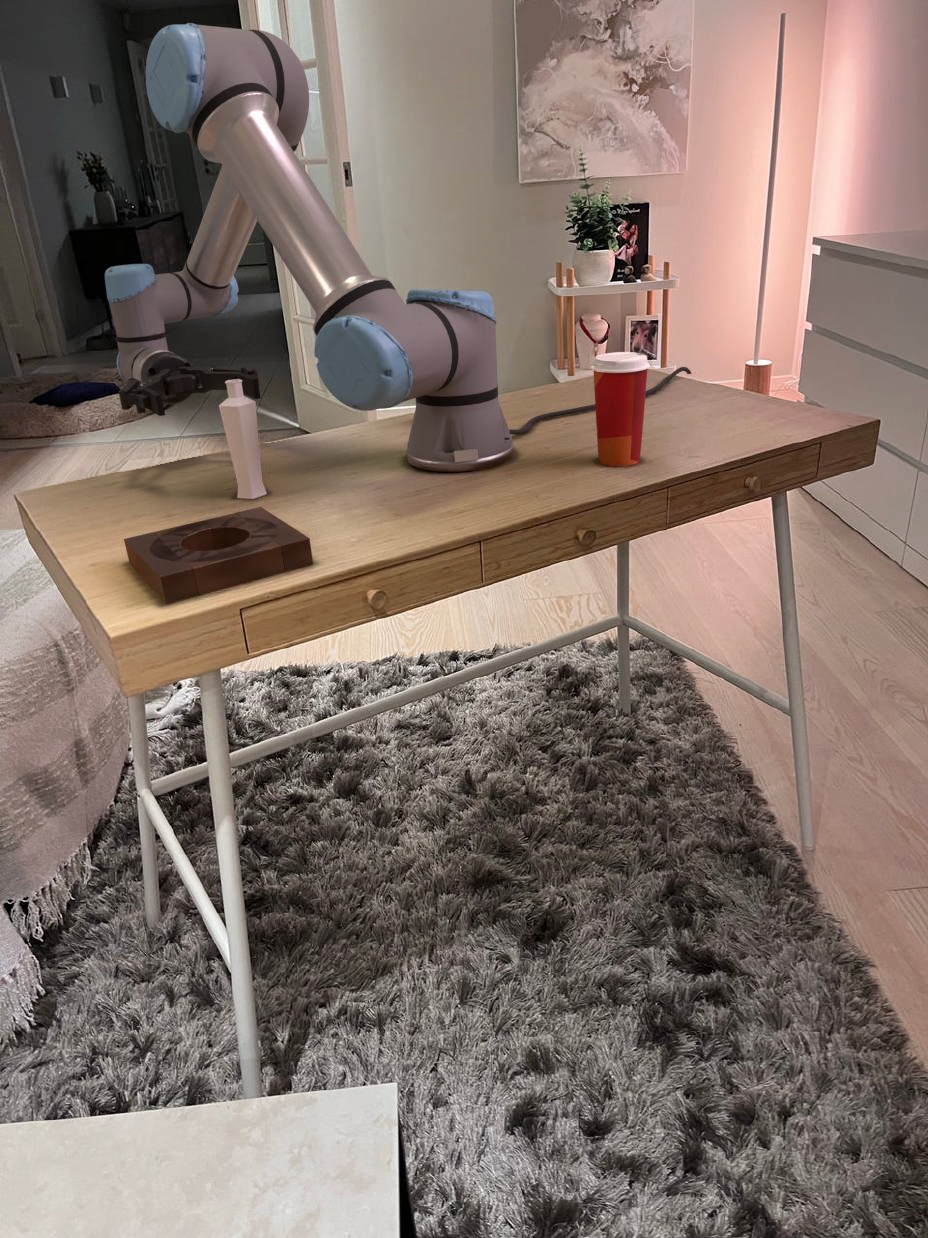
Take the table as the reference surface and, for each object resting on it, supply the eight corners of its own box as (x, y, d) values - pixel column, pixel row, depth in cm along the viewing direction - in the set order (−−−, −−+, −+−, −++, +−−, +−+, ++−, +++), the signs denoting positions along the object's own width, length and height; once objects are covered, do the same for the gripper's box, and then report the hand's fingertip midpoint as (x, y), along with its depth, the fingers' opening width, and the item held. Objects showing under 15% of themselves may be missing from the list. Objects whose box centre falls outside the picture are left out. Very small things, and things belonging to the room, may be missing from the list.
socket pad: (264, 530, 112) (260, 506, 110) (313, 564, 101) (309, 538, 99) (129, 564, 104) (123, 538, 103) (166, 604, 93) (160, 576, 92)
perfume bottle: (254, 487, 128) (236, 375, 121) (275, 492, 125) (257, 378, 119) (226, 496, 125) (207, 382, 118) (247, 501, 122) (228, 385, 116)
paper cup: (628, 449, 133) (630, 348, 127) (658, 462, 127) (661, 356, 121) (580, 458, 131) (579, 355, 125) (608, 472, 124) (609, 364, 118)
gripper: (245, 387, 152) (297, 408, 136) (87, 414, 141) (123, 441, 124) (237, 339, 149) (290, 355, 133) (75, 363, 137) (111, 383, 121)
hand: (209, 397), depth 128 cm, fingers open, 13 cm apart
